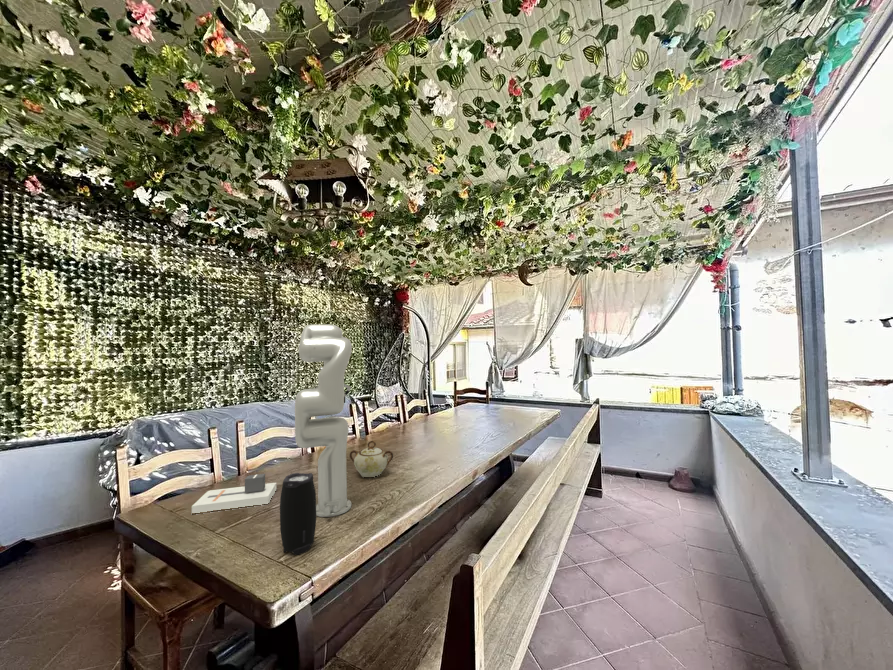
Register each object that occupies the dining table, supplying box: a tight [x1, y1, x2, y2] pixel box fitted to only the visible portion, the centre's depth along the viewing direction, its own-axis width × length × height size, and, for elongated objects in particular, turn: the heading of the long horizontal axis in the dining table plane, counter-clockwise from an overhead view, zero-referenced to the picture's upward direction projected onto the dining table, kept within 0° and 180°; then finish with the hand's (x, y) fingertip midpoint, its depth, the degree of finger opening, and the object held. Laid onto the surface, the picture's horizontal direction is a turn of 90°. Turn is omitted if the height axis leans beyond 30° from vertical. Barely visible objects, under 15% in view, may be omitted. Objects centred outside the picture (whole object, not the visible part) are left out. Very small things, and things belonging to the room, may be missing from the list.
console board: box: [191, 482, 277, 514], centre depth 127 cm, size 14×24×3 cm, turn 106°
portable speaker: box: [279, 472, 317, 556], centre depth 95 cm, size 9×9×20 cm
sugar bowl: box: [349, 440, 394, 478], centre depth 151 cm, size 20×15×15 cm
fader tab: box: [244, 473, 266, 493], centre depth 129 cm, size 4×6×5 cm
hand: (332, 405), depth 161 cm, fingers open, 9 cm apart
